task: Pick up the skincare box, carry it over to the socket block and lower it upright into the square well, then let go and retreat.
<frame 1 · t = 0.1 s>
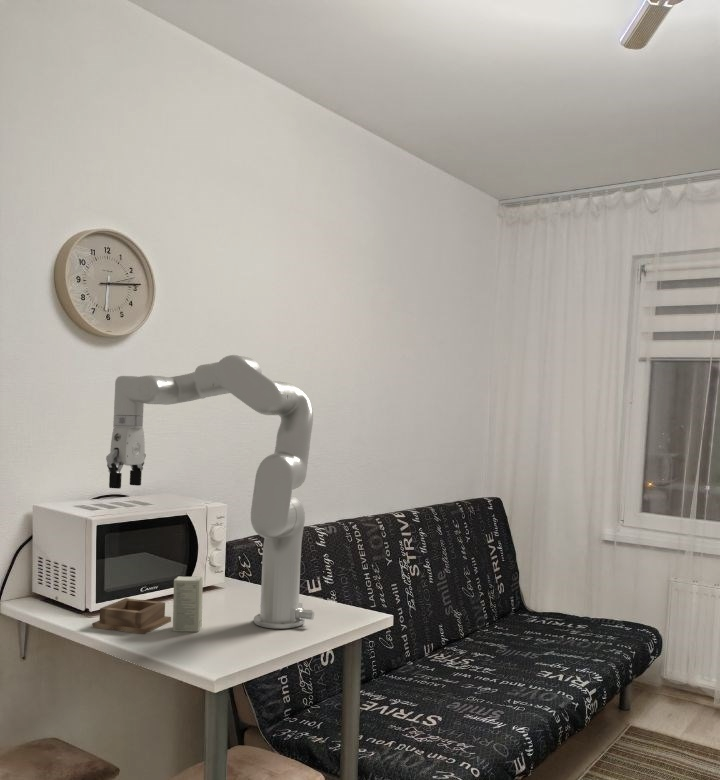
hand: (125, 486, 206), 31 cm above the table, tool pointing down, fingers open, 9 cm apart
socket block: (132, 624, 187), on the table
skincare box: (186, 630, 184), on the table
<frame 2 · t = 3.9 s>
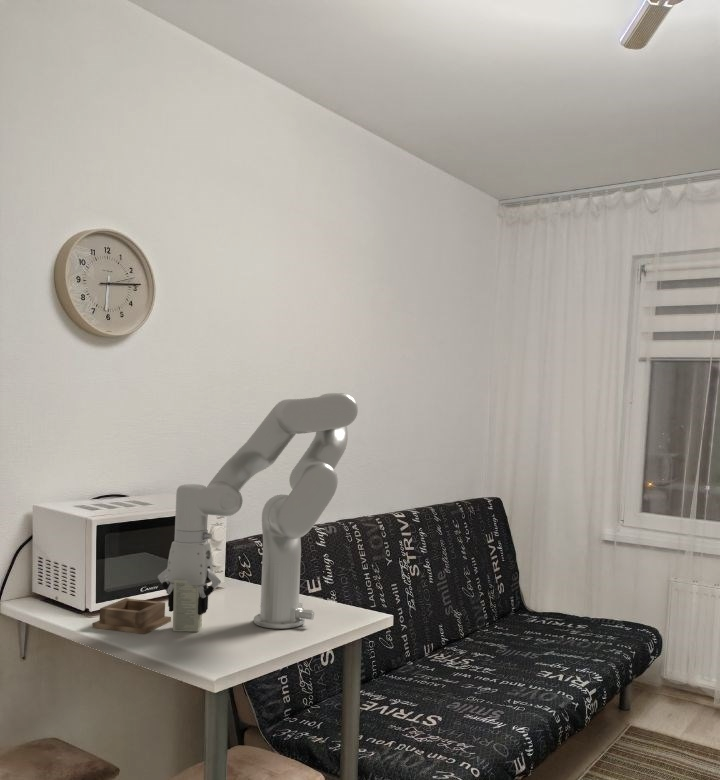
hand: (187, 611, 184), 4 cm above the table, tool pointing down, fingers closed on skincare box, 6 cm apart
skincare box: (186, 630, 184), on the table, touching gripper
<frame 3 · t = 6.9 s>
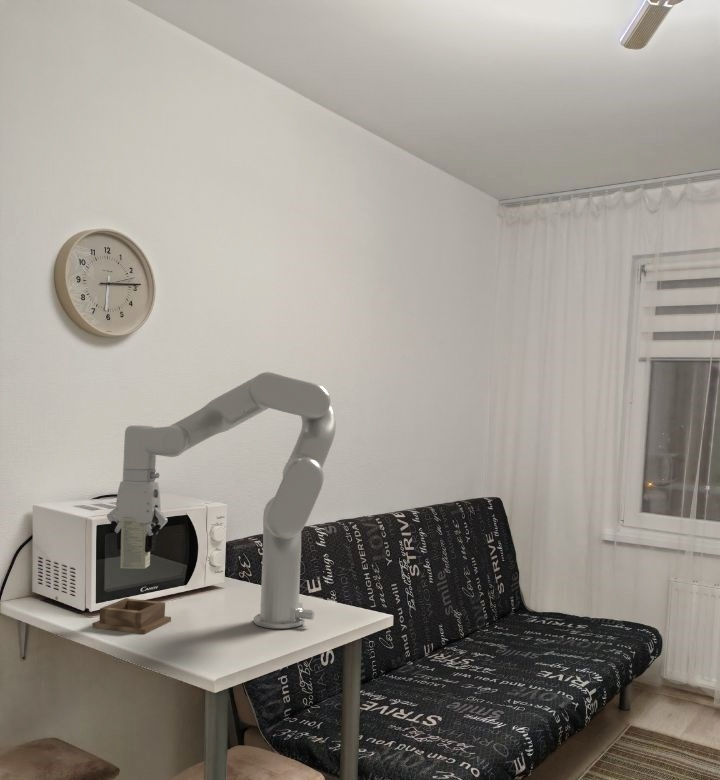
hand: (135, 549, 187), 18 cm above the table, tool pointing down, fingers closed on skincare box, 6 cm apart
skincare box: (134, 568, 187), point 14 cm above the table, touching gripper
when the fingers open (7 cm above the table, at t = 9.7 s): skincare box drops 1 cm, resting on socket block.
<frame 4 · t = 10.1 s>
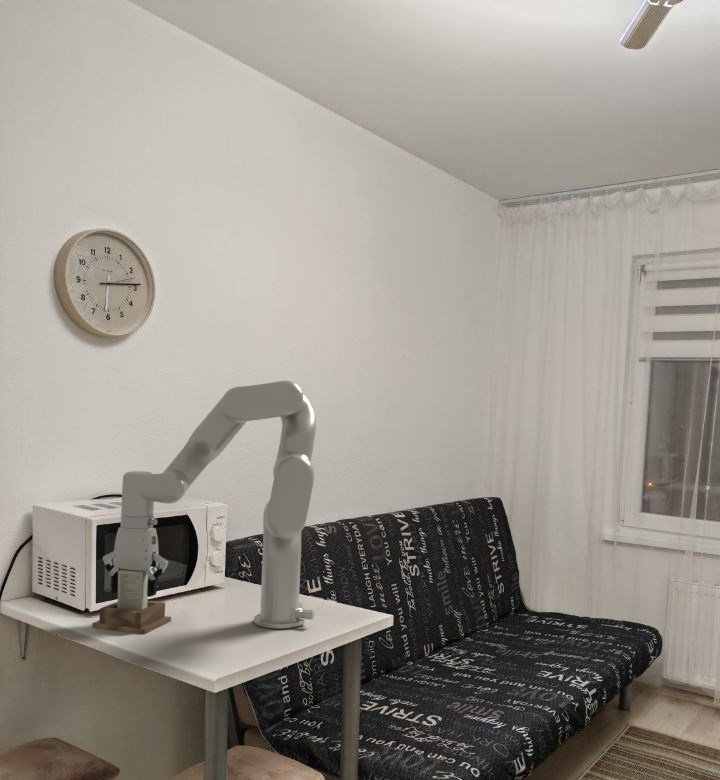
hand: (133, 593, 187), 7 cm above the table, tool pointing down, fingers open, 9 cm apart
skincare box: (131, 620, 187), point 1 cm above the table, touching socket block
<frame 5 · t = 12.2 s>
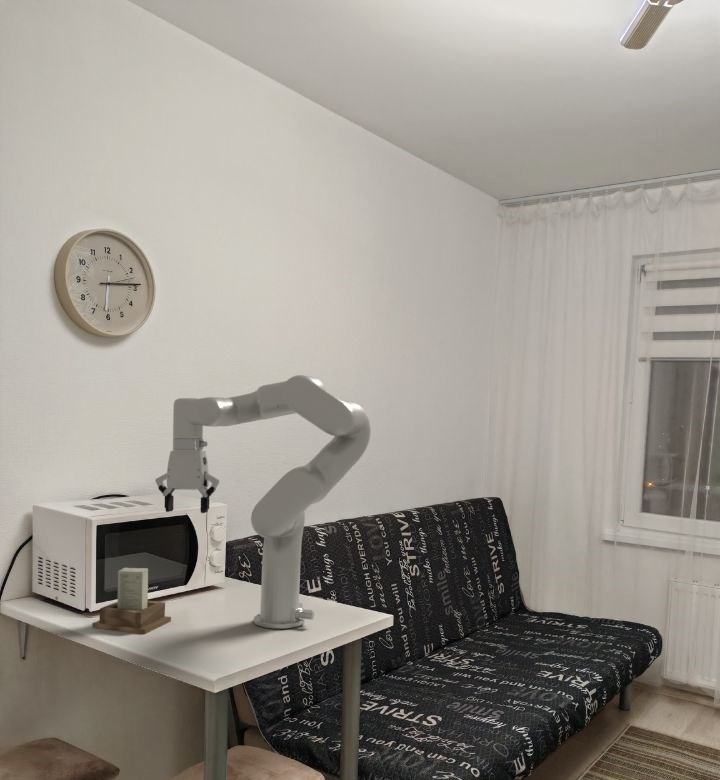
hand: (186, 511, 200), 26 cm above the table, tool pointing down, fingers open, 9 cm apart
nothing on the table moved.
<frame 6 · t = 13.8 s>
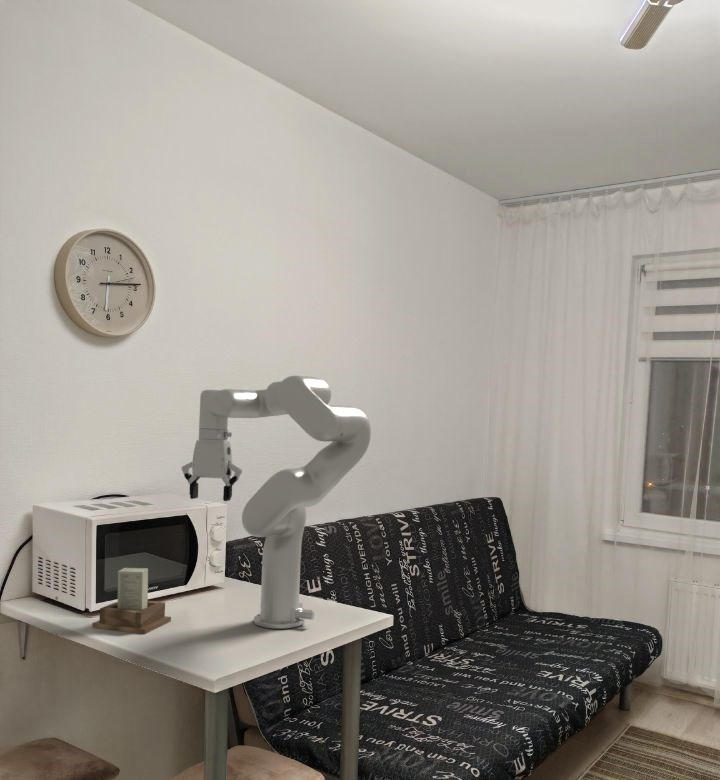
hand: (210, 499, 208), 28 cm above the table, tool pointing down, fingers open, 9 cm apart
nothing on the table moved.
at the end: skincare box 0.3 cm off-centre on the socket block, point 0.8 cm above the socket block's base; skincare box tilted 0°; the gripper is holding nothing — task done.
